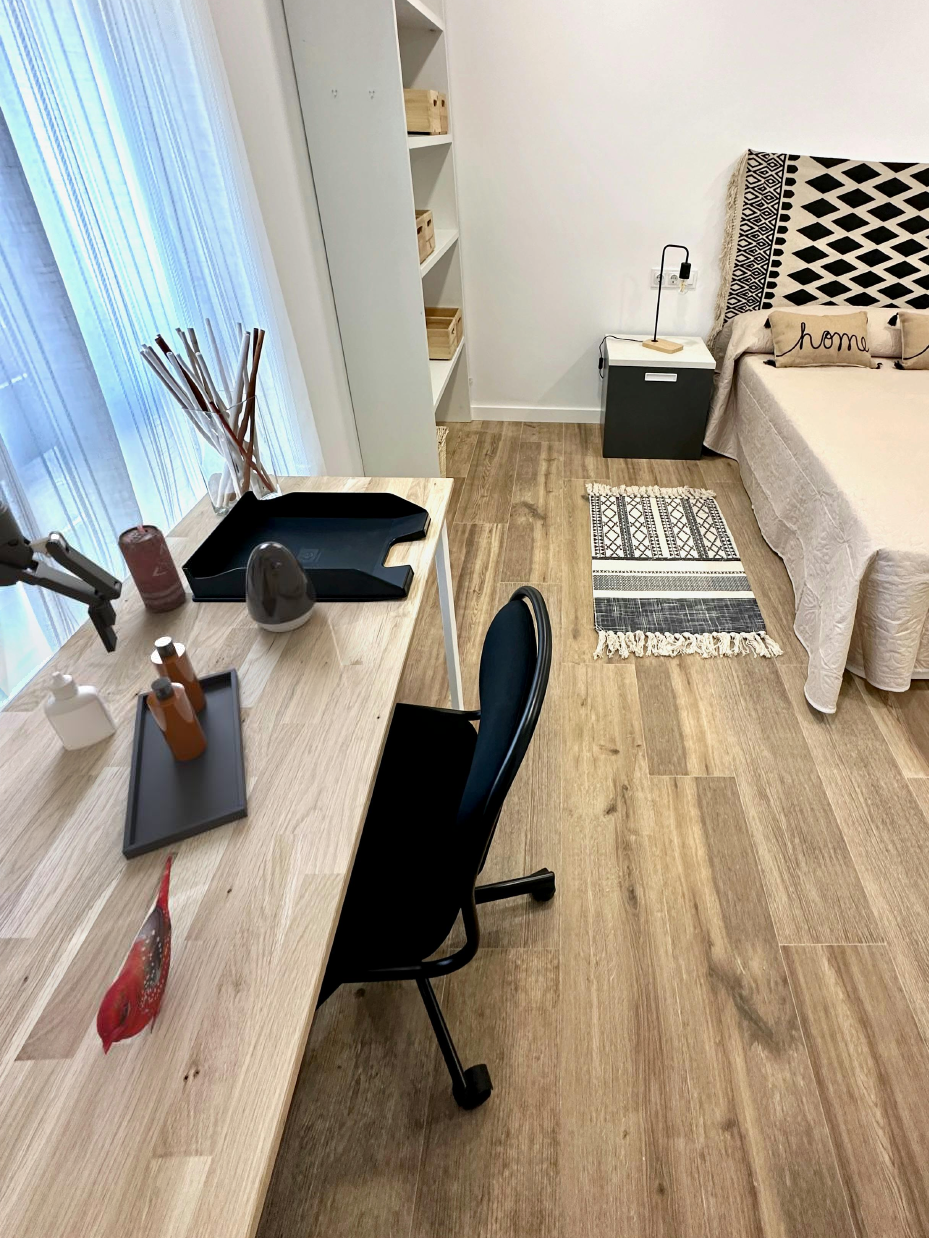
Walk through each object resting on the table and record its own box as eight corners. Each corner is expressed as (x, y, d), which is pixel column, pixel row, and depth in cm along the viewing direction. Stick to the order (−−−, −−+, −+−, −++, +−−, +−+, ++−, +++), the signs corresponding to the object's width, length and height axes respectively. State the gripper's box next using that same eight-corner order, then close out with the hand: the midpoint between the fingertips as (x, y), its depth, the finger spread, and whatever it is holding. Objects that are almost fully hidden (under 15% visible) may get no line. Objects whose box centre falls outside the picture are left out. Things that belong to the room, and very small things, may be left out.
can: (181, 585, 112) (155, 518, 104) (190, 604, 108) (164, 535, 100) (142, 599, 109) (112, 530, 101) (149, 618, 104) (119, 548, 97)
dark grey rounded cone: (265, 651, 99) (240, 573, 91) (246, 617, 105) (221, 541, 97) (330, 625, 104) (312, 548, 96) (307, 593, 111) (289, 520, 103)
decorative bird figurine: (120, 1097, 54) (73, 1049, 48) (173, 890, 68) (141, 836, 63) (158, 1086, 54) (116, 1037, 49) (202, 883, 69) (173, 829, 63)
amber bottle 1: (174, 700, 89) (146, 636, 83) (206, 691, 91) (180, 627, 84) (174, 720, 86) (144, 656, 80) (206, 711, 88) (180, 646, 81)
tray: (143, 705, 89) (138, 694, 88) (238, 677, 94) (234, 667, 93) (128, 863, 70) (121, 852, 69) (249, 819, 75) (244, 808, 74)
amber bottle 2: (173, 742, 83) (142, 677, 77) (207, 732, 85) (179, 667, 78) (172, 766, 80) (139, 700, 74) (207, 754, 82) (178, 688, 75)
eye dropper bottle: (107, 750, 83) (70, 685, 76) (60, 754, 82) (19, 688, 76) (123, 723, 86) (89, 659, 80) (79, 727, 86) (41, 662, 79)
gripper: (-228, 560, 58) (-100, 719, 69) (98, 502, 67) (163, 650, 79) (-190, 520, 63) (-78, 674, 74) (105, 472, 73) (165, 615, 84)
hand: (46, 662), depth 77 cm, fingers open, 13 cm apart
